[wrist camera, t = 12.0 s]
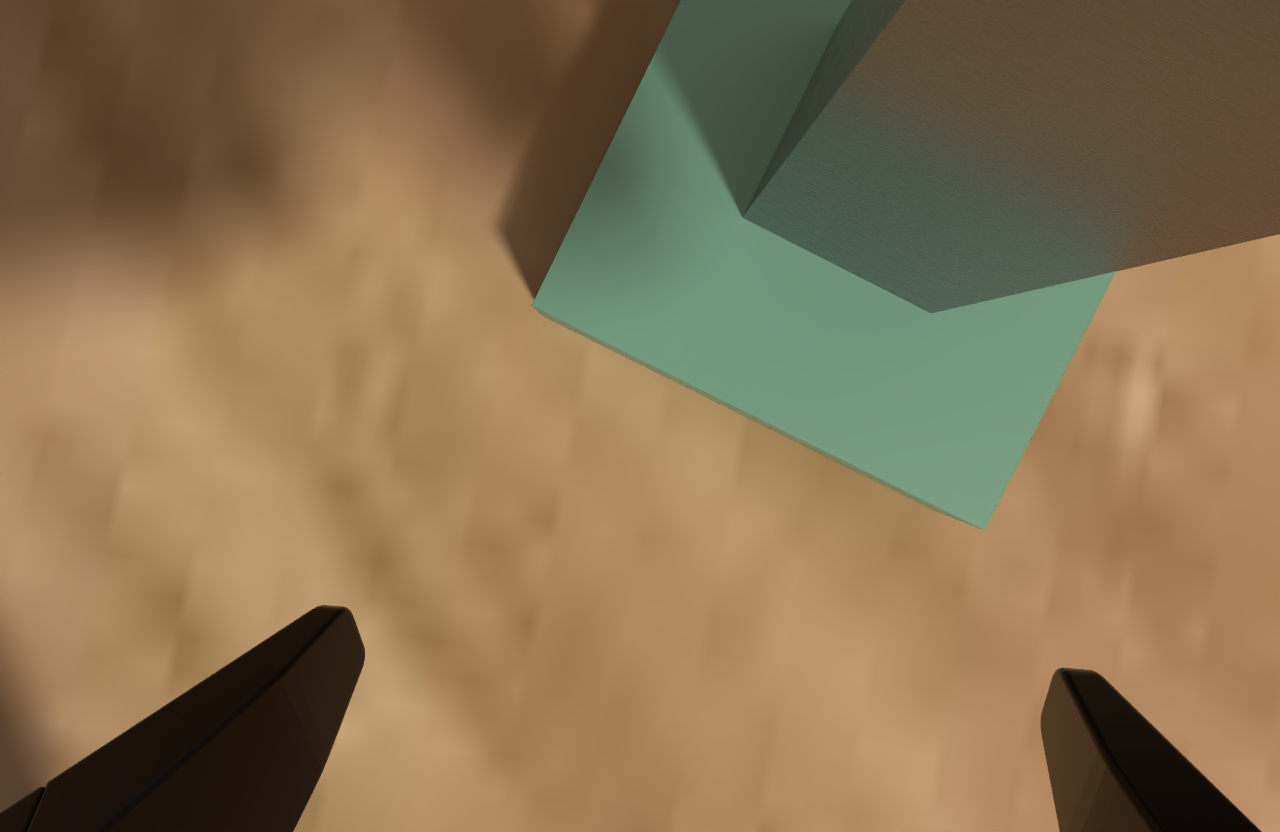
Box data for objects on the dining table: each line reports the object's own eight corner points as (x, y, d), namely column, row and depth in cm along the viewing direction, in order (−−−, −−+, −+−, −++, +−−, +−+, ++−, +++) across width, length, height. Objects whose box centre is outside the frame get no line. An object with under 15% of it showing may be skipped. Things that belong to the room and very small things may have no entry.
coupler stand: (939, 512, 20) (1006, 539, 17) (542, 315, 20) (526, 300, 16) (1158, 80, 20) (1272, 16, 17) (760, -132, 20) (792, -246, 16)
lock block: (930, 313, 18) (1884, 96, 4) (742, 217, 17) (1145, -319, 4) (1027, 121, 18) (2304, -700, 4) (838, 22, 17) (1566, -1171, 4)
